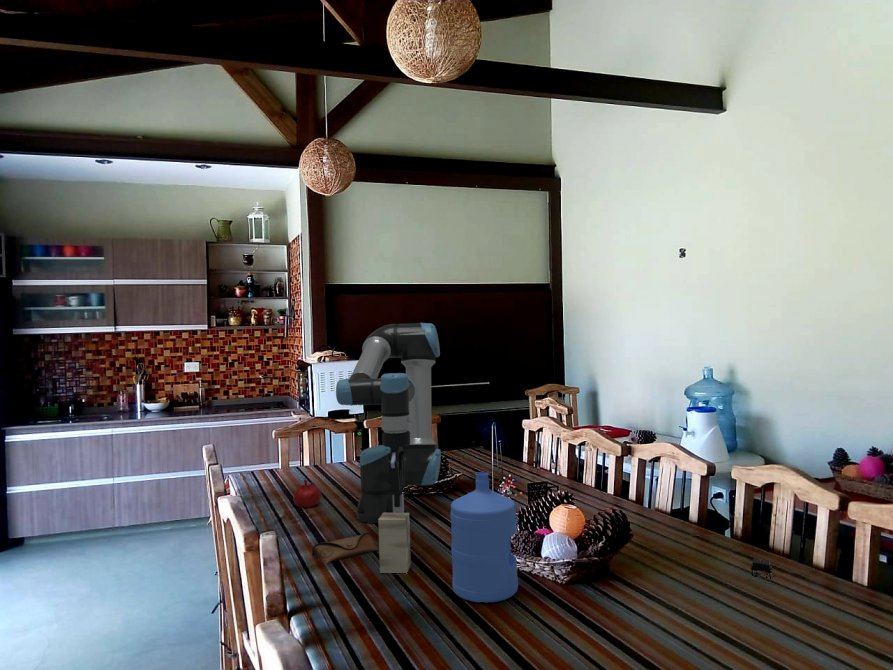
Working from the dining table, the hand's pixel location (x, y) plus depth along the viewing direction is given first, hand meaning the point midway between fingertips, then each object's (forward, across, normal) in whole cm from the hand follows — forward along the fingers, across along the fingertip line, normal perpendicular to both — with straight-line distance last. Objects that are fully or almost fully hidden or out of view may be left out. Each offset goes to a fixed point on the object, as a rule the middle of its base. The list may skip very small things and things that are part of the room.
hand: (398, 517), depth 174 cm
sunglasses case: (+12, +5, +16) cm, 21 cm away
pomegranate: (+12, +52, +43) cm, 68 cm away
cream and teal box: (+12, -6, 0) cm, 13 cm away
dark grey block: (+13, -9, -90) cm, 92 cm away
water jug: (+12, -18, -24) cm, 32 cm away
